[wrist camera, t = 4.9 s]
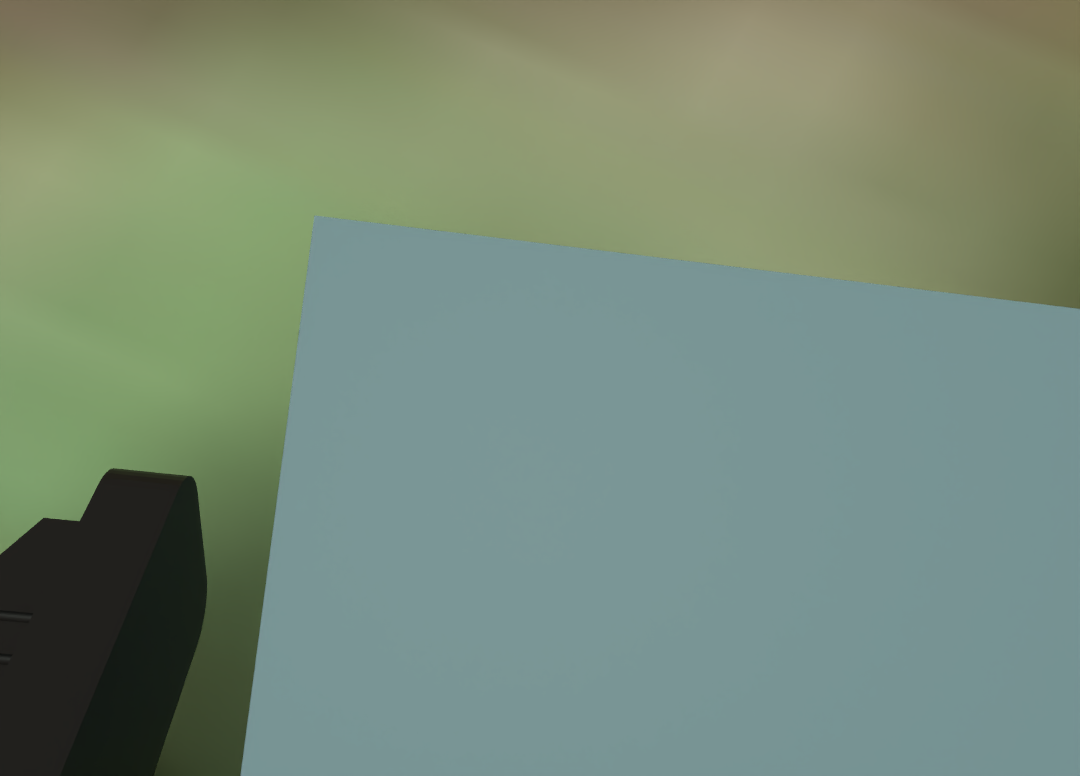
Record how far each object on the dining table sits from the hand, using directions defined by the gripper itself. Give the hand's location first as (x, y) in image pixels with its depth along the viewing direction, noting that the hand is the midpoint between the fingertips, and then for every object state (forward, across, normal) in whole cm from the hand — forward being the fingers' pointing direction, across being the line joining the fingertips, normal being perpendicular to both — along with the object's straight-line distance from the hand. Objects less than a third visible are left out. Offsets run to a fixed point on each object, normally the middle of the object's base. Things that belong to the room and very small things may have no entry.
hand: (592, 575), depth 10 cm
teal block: (+4, 0, +4) cm, 6 cm away
